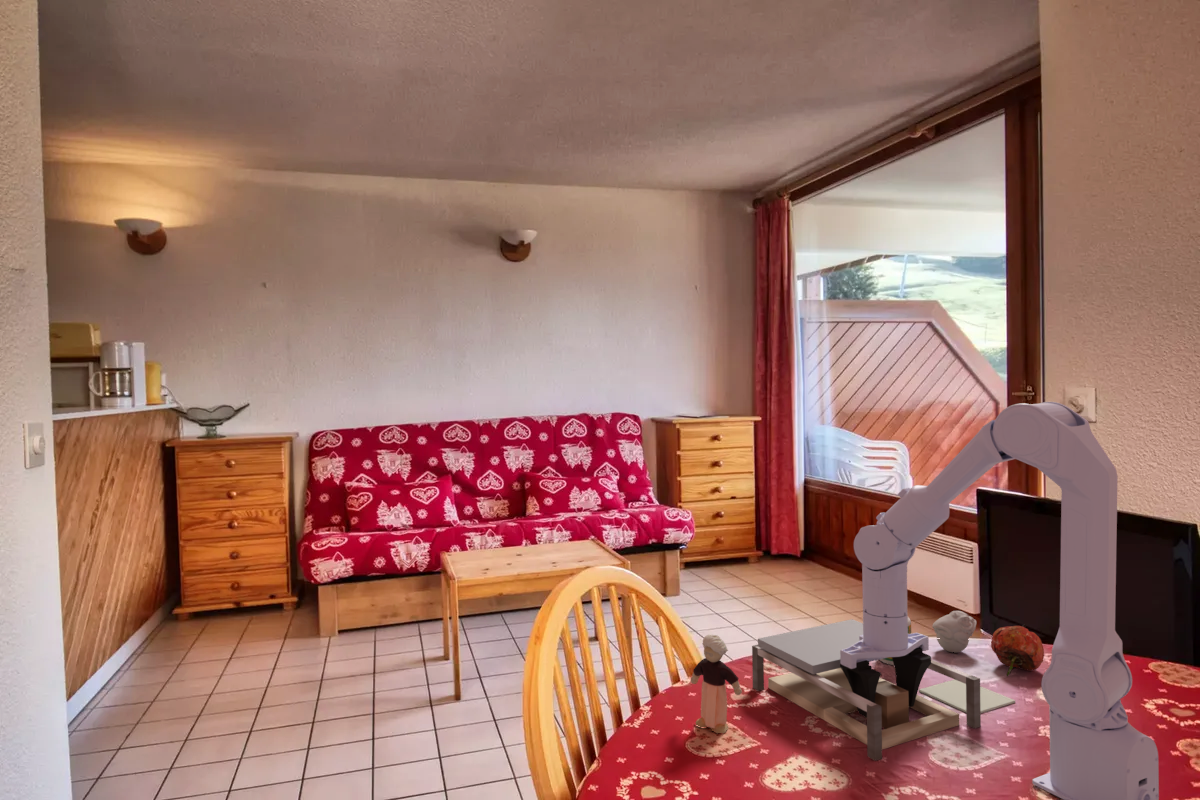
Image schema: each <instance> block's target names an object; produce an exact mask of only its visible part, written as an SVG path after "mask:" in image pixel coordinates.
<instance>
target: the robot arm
mask: <svg viewBox="0 0 1200 800" xmlns="http://www.w3.org/2000/svg"><path fill="white" fill-rule="evenodd" d="M1013 460H1017V461H1019V462H1022V463H1024V464H1027V465H1029V466H1031V467H1033V468H1036V469H1038V470H1039V471H1041V473H1043V474H1044V475H1045V476H1046V477H1047V478H1048V479H1050V480H1051V481H1052V482H1053V483H1054V484H1056V485H1057V486H1059V488H1060V489H1061V503H1060V504H1061V507H1060V508H1061V509H1060V511H1061V513H1060V515H1061V517H1060V569H1059V570H1060V571H1059V572H1060V574H1059V575H1060V576H1059V577H1060V578H1059V579H1060V580H1059V582H1060V584H1059V588H1060V589H1059V627H1058V631H1057V634H1056V636H1055V639H1054V641H1053V645H1052V648H1051V661H1050V664H1049V666H1048V668H1047V669H1046V670H1045V672H1044V673H1043V675H1042V678H1041V685H1040V686H1041V691H1042V695H1043V697H1044V699H1045V701H1046V702H1047V704H1048V705H1049V712H1048V713H1049V767H1050V768H1049V772H1048V773H1044V774H1043V775H1040V776H1037V777H1035V778H1032V780H1031V781H1032V784H1033V785H1034V786H1036V787H1038V788H1040V789H1042V790H1044V791H1046V792H1048V793H1049V794H1052V795H1054V796H1055V797H1057V798H1060V799H1061V800H1159V799H1160V793H1159V792H1160V789H1159V788H1160V785H1159V782H1160V781H1159V779H1160V777H1159V776H1160V775H1159V774H1160V773H1159V767H1160V766H1159V750H1158V747H1157V745H1156V742H1155V740H1154V739H1153V738H1152V737H1149V736H1148V735H1146V734H1144V733H1142V732H1141V731H1139V730H1138V729H1137V728H1135V727H1134V726H1133V725H1131V723H1130V722H1128V720H1129V719H1128V718H1129V717H1128V714H1127V712H1126V709H1125V708H1124V705H1123V703H1122V699H1123V698H1124V697H1125V696H1127V695H1128V694H1129V692H1130V690H1131V689H1132V686H1133V675H1132V671H1131V669H1130V667H1129V664H1127V662H1126V659H1125V657H1124V653H1123V652H1124V651H1123V640H1122V639H1121V637H1120V635H1119V634H1118V633H1117V631H1116V595H1117V594H1116V593H1117V592H1116V588H1117V587H1116V585H1117V541H1118V540H1117V536H1118V535H1117V530H1118V529H1117V527H1118V526H1117V524H1118V471H1117V469H1116V466H1115V465H1114V464H1113V462H1112V461H1111V459H1110V457H1109V456H1108V454H1107V453H1106V452H1105V450H1104V448H1103V447H1102V445H1101V444H1100V443H1099V441H1098V439H1097V438H1096V436H1095V435H1094V433H1093V432H1092V430H1091V426H1090V422H1089V421H1088V420H1087V419H1086V418H1085V417H1083V416H1082V415H1080V413H1078V412H1077V411H1074V410H1073V409H1072V408H1070V407H1069V406H1068V405H1066V404H1063V403H1060V402H1057V401H1044V402H1040V403H1033V404H1031V403H1030V404H1029V403H1015V404H1012V405H1009V406H1007V407H1006V408H1005V409H1002V410H1001V412H999V413H998V415H997V416H996V418H995V419H991V420H990V421H989V422H987V423H986V424H984V425H983V426H982V427H981V428H980V429H979V430H978V432H977V433H976V434H975V435H974V436H973V437H972V438H971V440H970V441H969V442H967V444H965V446H964V447H963V448H962V449H961V450H960V452H958V453H957V454H956V455H955V457H954V458H953V459H952V460H950V462H949V463H948V464H947V465H946V466H945V467H944V468H942V470H941V471H940V472H939V474H937V475H936V476H935V477H934V479H933V480H932V481H931V482H930V483H928V485H921V484H916V485H912V487H906V488H905V487H904V488H902V489H901V490H900V491H899V492H898V493H897V495H898V497H899V499H898V500H897V501H896V502H895V503H894V504H893V505H892V506H891V507H890V508H889V509H887V511H886V512H880V513H879V514H878V515H877V516H876V517H875V519H876V520H877V521H876V524H875V525H874V524H873V525H866V526H862V527H861V528H860V529H859V531H858V533H857V534H856V535H855V538H854V540H853V552H854V554H855V556H856V558H857V560H858V561H859V562H860V563H861V569H862V573H861V577H862V579H861V581H862V582H861V583H862V584H861V585H862V623H863V635H860V636H859V640H860V641H858V642H857V643H855V644H853V645H852V646H850V647H848V648H846V649H843V650H840V667H841V669H842V670H843V672H844V674H845V676H846V678H847V679H848V682H849V684H850V686H851V689H852V692H853V693H855V694H857V695H859V696H861V697H863V698H865V699H867V700H869V701H871V702H873V703H875V694H876V688H877V684H878V681H879V678H881V676H882V673H881V672H880V671H878V670H876V669H873V667H872V665H870V663H871V662H875V661H880V659H884V658H888V657H892V660H893V664H894V665H893V666H894V668H893V669H894V672H895V678H896V679H895V681H896V684H895V685H897V686H898V687H901V688H903V689H905V690H907V691H908V695H909V708H910V707H913V706H914V703H915V699H916V696H917V695H918V692H919V689H920V685H921V682H922V680H923V677H924V675H925V673H926V672H927V670H928V667H929V665H930V664H931V660H932V656H931V655H929V654H927V653H925V652H927V651H929V648H930V647H929V646H930V645H929V636H928V635H925V634H922V633H919V632H913V633H912V632H911V634H908V617H909V616H908V615H909V614H908V563H909V561H910V560H911V559H912V558H913V556H914V554H915V553H916V548H917V547H918V546H919V545H920V544H921V543H922V542H924V541H925V540H926V539H927V538H928V537H929V536H930V535H932V533H933V532H935V531H936V530H937V529H938V528H939V527H940V526H942V525H943V524H944V523H945V522H946V521H947V520H948V519H949V517H950V503H951V502H953V500H955V499H956V498H958V497H959V495H961V494H962V493H963V492H964V491H966V490H967V489H968V488H969V487H971V485H973V484H974V483H976V481H978V480H979V479H980V478H981V477H982V476H984V475H985V474H986V473H987V472H989V471H990V470H991V469H992V468H993V467H994V466H996V465H998V464H1000V463H1004V462H1008V461H1013ZM857 709H858V711H857V712H858V714H859V715H860V716H863V717H864V718H865V717H866V718H867V712H866V711H864V710H862V709H860V708H858V707H857ZM866 718H865V719H866Z"/></svg>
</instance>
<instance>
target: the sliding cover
mask: <svg viewBox="0 0 1200 800" xmlns="http://www.w3.org/2000/svg"><path fill="white" fill-rule="evenodd" d="M860 635H863V622H861V621H858V620H855V619H851V618H850V619H847V620H843V621H837V622H832V623H828V624H823V625H819V626H813V627H808V628H802V629H798V630H793V631H788V632H782V633H778V634H774V635H773V634H772V635H769V636H764V637H759V638H757V645H758V647H760V648H762V649H764V650H766V651H768V652H770V653H772V654H774V655H776V656H778V657H780V658H782V659H784V660H786V661H788V662H790V663H792V664H793V665H795V666H797V667H799V668H801V669H803V670H805V671H807V672H809V673H811V674H817V673H821V672H825V671H829V670H834V669H838V668H841V667H840V650H843V649H846V648H848V647H850V646H852V645H853V644H855V643H857V642H858V641H860V640H859V636H860Z"/></svg>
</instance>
